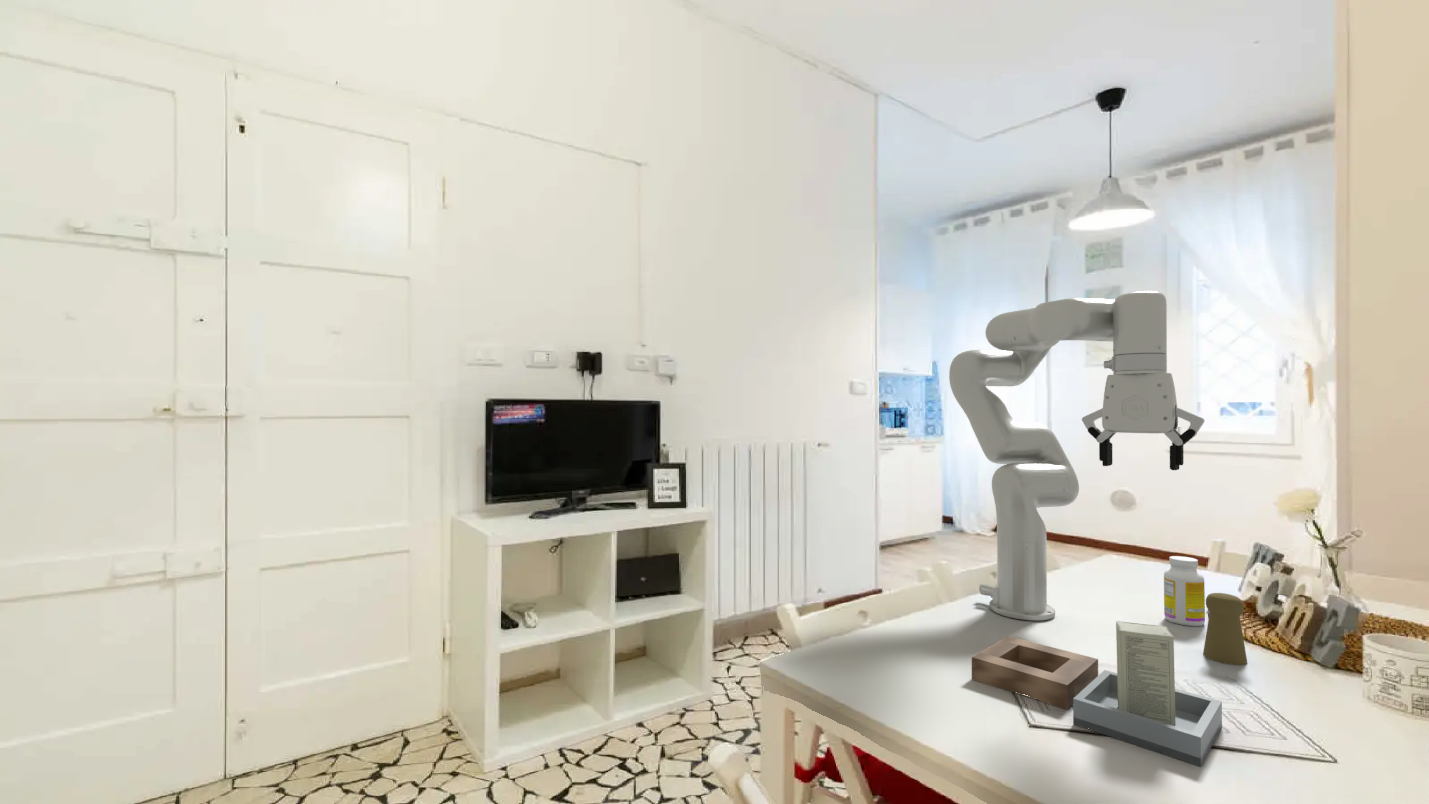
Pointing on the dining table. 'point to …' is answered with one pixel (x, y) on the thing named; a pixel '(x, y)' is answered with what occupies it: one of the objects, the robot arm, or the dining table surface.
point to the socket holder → (1035, 670)
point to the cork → (1225, 630)
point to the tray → (1151, 721)
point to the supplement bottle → (1184, 592)
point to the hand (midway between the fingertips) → (1139, 467)
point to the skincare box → (1146, 671)
